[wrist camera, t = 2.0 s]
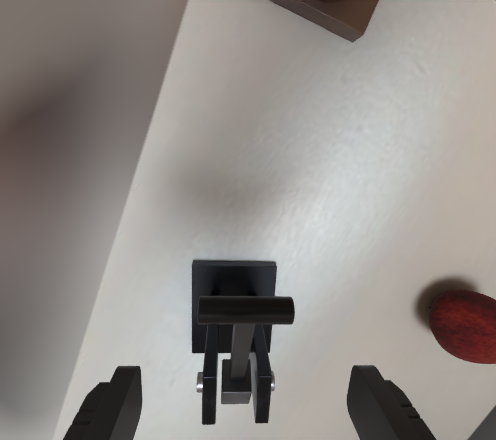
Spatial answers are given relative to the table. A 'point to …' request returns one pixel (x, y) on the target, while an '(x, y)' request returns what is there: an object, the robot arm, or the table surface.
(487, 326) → the apple
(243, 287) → the lever stand
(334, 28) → the control block
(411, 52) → the table surface
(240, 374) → the black lever
